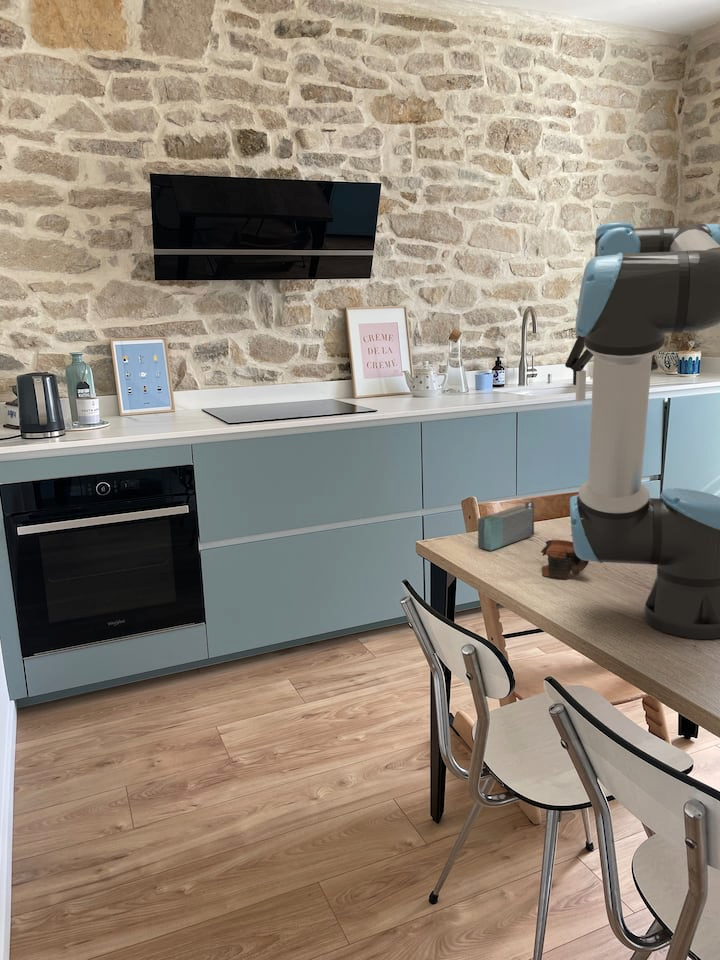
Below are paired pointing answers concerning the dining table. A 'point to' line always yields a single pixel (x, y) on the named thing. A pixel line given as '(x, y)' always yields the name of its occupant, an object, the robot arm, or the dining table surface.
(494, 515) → the left tong arm
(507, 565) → the dining table surface
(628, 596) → the dining table surface
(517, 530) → the right tong arm
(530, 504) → the pivot post
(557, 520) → the dining table surface
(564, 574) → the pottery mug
